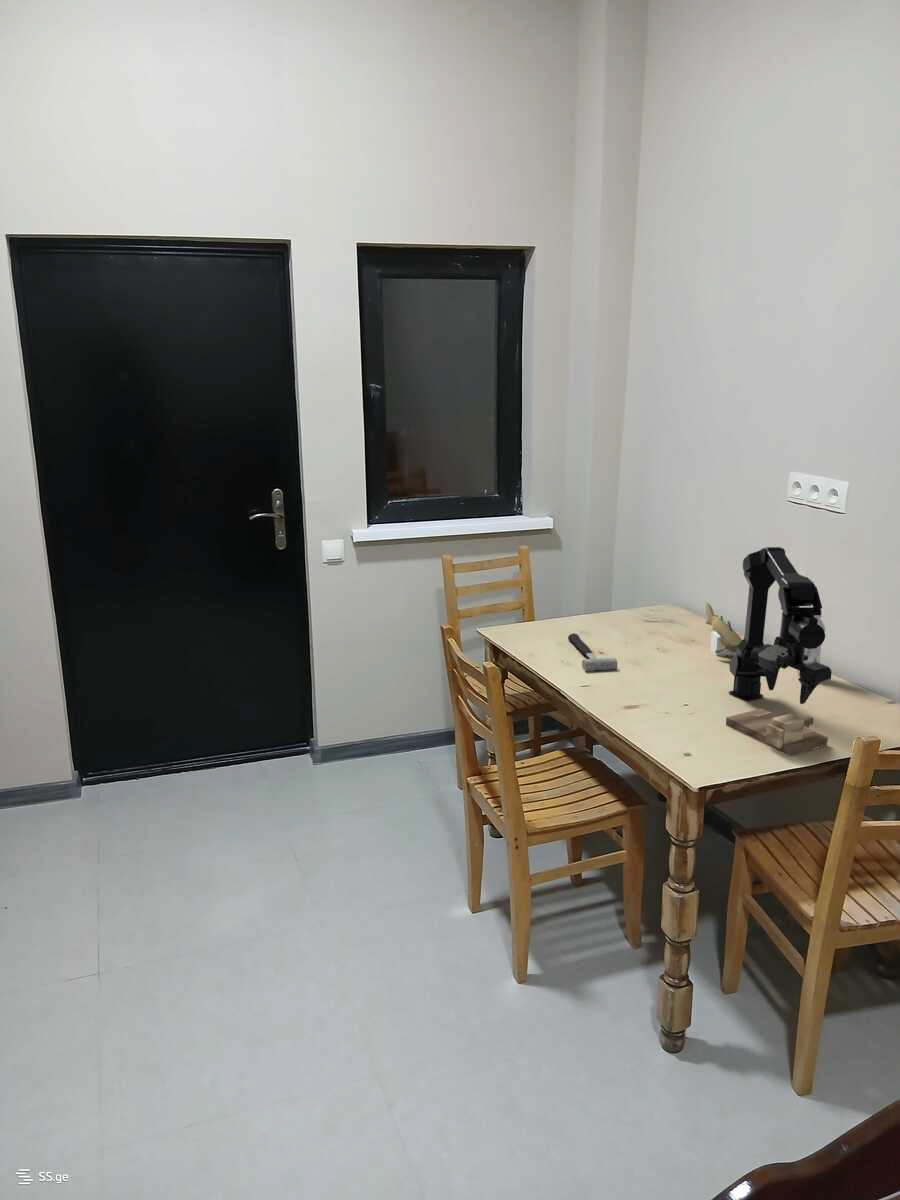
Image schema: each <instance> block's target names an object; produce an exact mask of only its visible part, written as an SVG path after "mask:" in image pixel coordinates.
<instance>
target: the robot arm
mask: <svg viewBox="0 0 900 1200" xmlns="http://www.w3.org/2000/svg"><path fill="white" fill-rule="evenodd" d="M742 569H743V577H744V578H745V580H746V581H747V584H748V586H749V587H748V597H747V607H746V608H747V609H746V616H745V617H746V618H745V627H744V637H743V639H742V641H741V642H740V644H739V645H738V646H737V650H736V655H733V657H732V659H731V661H729V664H728V666H729V672H730V673H731V675H733V687H732V688H733V690H729V691H728V694H730V695H731V696H734V697H736V698H739V699H741V700H743V701H745V702H747V701H752V700H756V699H760V698H764V694H762V693H761V687H762V682H761V679H762V677H765V679H766V684H767V688H768V690H769V691H773V690H775V687H776V684H777V679H778V675H779V670H780V669H783V670H785V669H786V668H788V667H790V668H792V669H795V670H796V669H797V670H799V671H800V674H799V675H800V676H801V677H800V676H799V675H798V676H799V677H800V678H797V679H798V681H799V683H800V685H801V686H800V692H799V693H800V694H799V703H800V705H804V704H805V703H806V702H807V700H808V699H809V698H810V696H811V694H812V693H813V692H814V690H815V689H816V688H817V687H818V685H819V684H821V683H822V682H826V681H827V680H831V679H832V674H833V673H832V669H831V667H830V666H827V665H825V664H822V663H821V662H820V663H821V664H820V663H817V662H816V663H812V664H808V665H807V664H805V663H803V662H804V661H806V660H808V656H807V655H805V648H808V649H814V648H817V647H819V646H820V645H821V644H822V645H823V643H824V641H825V639H826V631H825V632H824V630H823V628H822V627H821V626H820V625H818V624H817V623H818V619H817V618H815V617H814V615H822V614H821V610H822V609H823V606H822V601H821V598H820V593H819V590H818V588H817V586H816V584H815V583H814V581H812V580H811V579H810V578H809V577H807V576H804V575H802V574H800V573H798V571H797V570H796V568H795V566H794V565H793V564H792V562H791V561H790V559H789V558H788V556H787V555H786V550H785V548H784V547H783V548H782V547H781V546H777V547H776V546H774V547H773V546H772V547H771V546H770V547H769V546H768V547H767V546H766V547H764V548H761V549H760V550H758V551H754V552H751V553H749V554H748V555H746V556H745V557H744V559H743V560H742ZM775 582H776V583H777V584H778V586H779V588H778V590H777V591H778V592H777V593H778V594H777V597H778V601H779V603H780V609H781V610H782V614H781V621H780V622H781V623H780V632H779V636H776V637H775V639H774V642H773V644H770V643H767V644H764V636H765V635H764V634H765V624H766V616H767V608H768V607H767V606H768V598H769V596H768V595H769V590H770V588H771V587H772V586H773V584H774V583H775ZM822 645H821V646H822Z"/></svg>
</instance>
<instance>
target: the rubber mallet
mask: <svg viewBox="0 0 900 1200" xmlns="http://www.w3.org/2000/svg"><path fill="white" fill-rule="evenodd" d="M567 640H568V641H569V640H570V641H571V643H572V644H573V646H575V647H576V648H577V649H578V650H579V651H580V652H581V653H582V654H583V655H585V656H586V657H587V659H582V661H581V668H583V669H584V670H585V671H584V670H583V669H582V670H583V671H584V672H592V671H591V670H601V671H613V670H612V669H617V670H618V660H617V658H616V657H608V658H607V657H604V658H598V657H596V655H595V654H594V653H593V650H592V649H591V648H590V647H589V646H588V645H587V644H586V643H585V642H584V641H583V640H582V639H581V637H580V636H579V634H577V633H571V634H568V636H567ZM570 641H569V642H570ZM588 658H589V659H588Z"/></svg>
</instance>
